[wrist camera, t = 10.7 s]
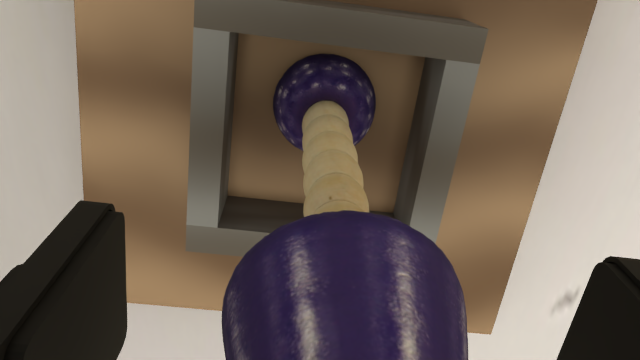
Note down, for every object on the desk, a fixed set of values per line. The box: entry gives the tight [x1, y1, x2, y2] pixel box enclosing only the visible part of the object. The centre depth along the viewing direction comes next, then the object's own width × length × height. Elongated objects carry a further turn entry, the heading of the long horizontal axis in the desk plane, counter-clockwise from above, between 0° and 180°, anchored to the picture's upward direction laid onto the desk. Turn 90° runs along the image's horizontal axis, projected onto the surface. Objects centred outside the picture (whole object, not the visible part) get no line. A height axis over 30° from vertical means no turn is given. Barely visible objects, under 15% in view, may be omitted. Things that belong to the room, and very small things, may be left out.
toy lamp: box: [222, 54, 468, 360], centre depth 14 cm, size 5×5×17 cm
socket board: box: [74, 0, 597, 334], centre depth 21 cm, size 20×20×4 cm
